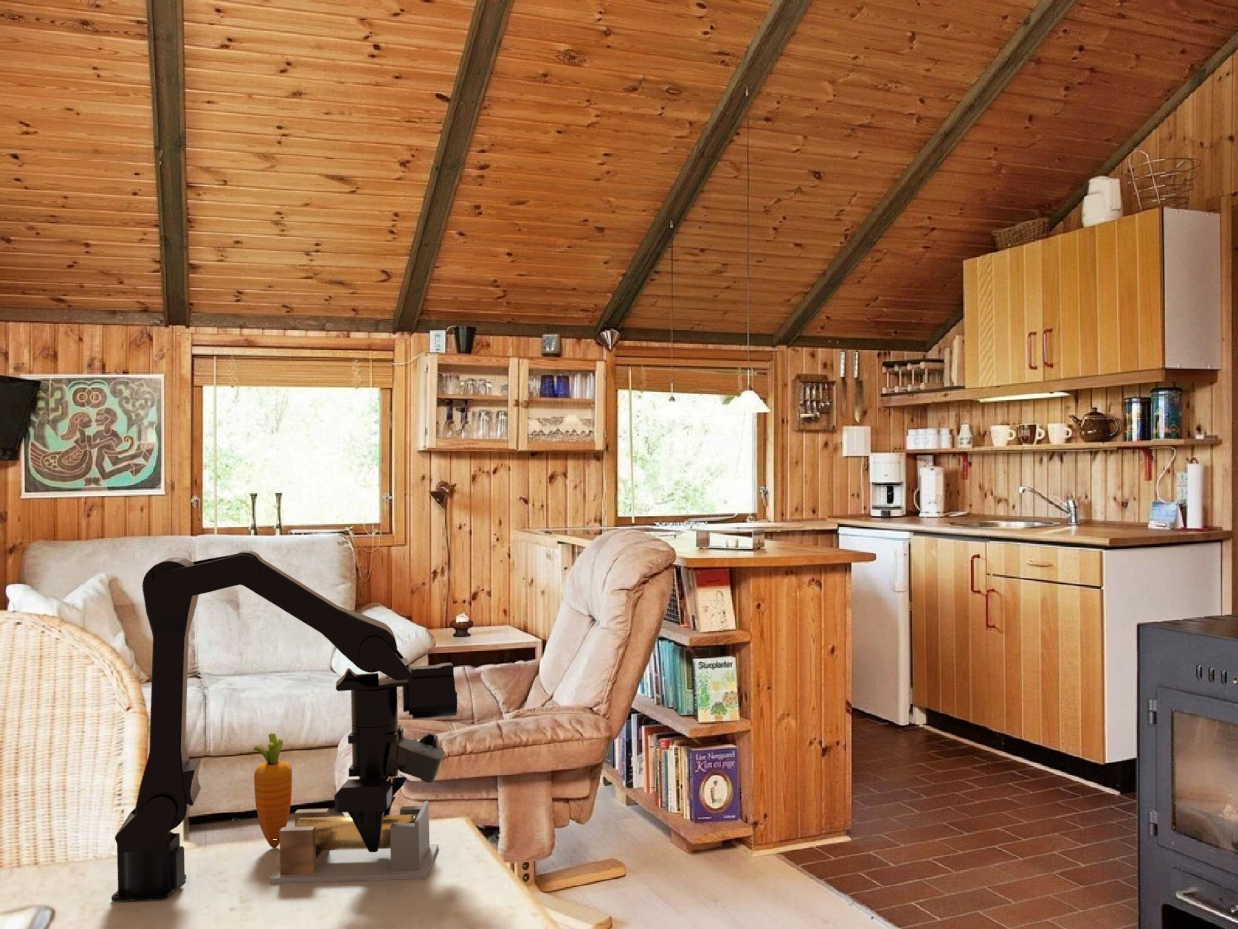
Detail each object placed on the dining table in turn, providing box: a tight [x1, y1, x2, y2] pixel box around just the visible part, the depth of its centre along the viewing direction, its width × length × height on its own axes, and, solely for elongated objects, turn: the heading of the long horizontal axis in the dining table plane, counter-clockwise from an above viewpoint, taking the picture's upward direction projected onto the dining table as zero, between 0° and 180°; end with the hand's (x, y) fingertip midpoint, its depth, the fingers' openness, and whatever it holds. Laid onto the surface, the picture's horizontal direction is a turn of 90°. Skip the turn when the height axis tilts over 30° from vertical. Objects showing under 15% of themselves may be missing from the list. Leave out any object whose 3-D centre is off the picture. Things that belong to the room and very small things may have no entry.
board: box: [269, 843, 439, 884], centre depth 132 cm, size 19×10×1 cm, turn 92°
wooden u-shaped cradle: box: [279, 808, 330, 875], centre depth 132 cm, size 4×8×5 cm, turn 2°
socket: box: [390, 800, 430, 871], centre depth 132 cm, size 4×8×6 cm, turn 1°
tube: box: [296, 814, 418, 851], centre depth 132 cm, size 15×4×4 cm, turn 92°
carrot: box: [253, 732, 293, 849], centre depth 139 cm, size 5×5×15 cm
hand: (377, 845), depth 132 cm, fingers closed on tube, 4 cm apart
